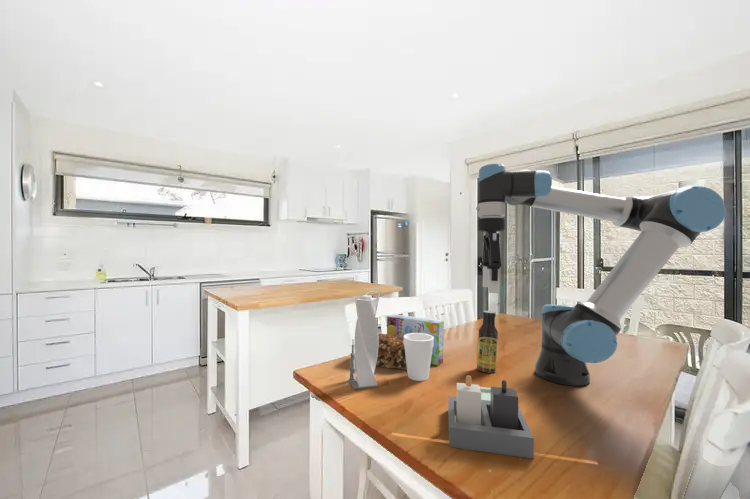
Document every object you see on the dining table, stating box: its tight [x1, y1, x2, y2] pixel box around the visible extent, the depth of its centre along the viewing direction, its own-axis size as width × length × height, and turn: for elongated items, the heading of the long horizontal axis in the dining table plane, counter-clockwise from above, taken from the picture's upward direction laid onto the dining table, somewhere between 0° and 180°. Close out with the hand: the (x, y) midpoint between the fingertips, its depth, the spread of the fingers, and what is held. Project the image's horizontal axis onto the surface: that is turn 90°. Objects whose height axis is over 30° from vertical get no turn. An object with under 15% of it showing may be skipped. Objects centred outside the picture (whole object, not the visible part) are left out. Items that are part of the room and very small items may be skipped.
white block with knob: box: [456, 375, 481, 425], centre depth 70 cm, size 5×4×12 cm
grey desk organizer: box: [447, 379, 535, 459], centre depth 70 cm, size 16×14×12 cm
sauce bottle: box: [476, 310, 499, 374], centre depth 106 cm, size 7×6×20 cm
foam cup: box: [403, 333, 434, 382], centre depth 99 cm, size 10×9×13 cm
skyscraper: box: [348, 289, 382, 390], centre depth 94 cm, size 8×8×28 cm
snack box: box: [386, 313, 445, 366], centre depth 117 cm, size 21×6×15 cm, turn 58°
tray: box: [480, 386, 491, 401], centre depth 84 cm, size 10×13×1 cm
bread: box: [376, 333, 407, 370], centre depth 112 cm, size 19×11×10 cm, turn 71°
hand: (490, 289), depth 93 cm, fingers open, 13 cm apart
